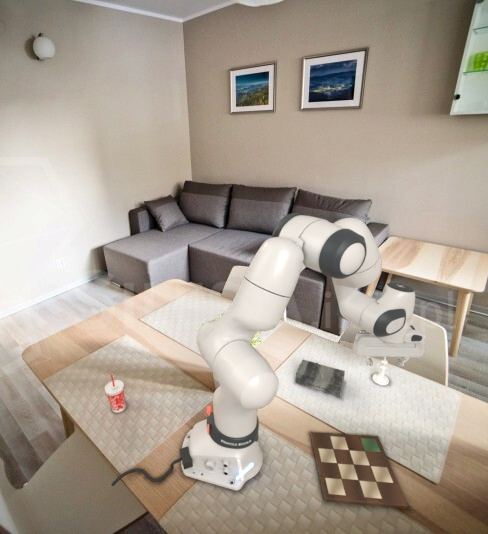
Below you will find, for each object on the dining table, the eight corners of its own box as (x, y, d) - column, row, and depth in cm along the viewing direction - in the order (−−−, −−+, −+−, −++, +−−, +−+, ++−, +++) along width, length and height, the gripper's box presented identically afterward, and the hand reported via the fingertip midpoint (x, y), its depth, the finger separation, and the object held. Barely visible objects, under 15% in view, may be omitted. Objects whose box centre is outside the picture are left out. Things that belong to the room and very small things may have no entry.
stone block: (302, 367, 119) (303, 355, 116) (345, 380, 111) (346, 368, 109) (295, 383, 112) (295, 371, 110) (340, 398, 105) (342, 386, 102)
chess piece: (388, 376, 111) (393, 353, 107) (389, 386, 107) (394, 363, 103) (371, 373, 113) (376, 350, 109) (372, 383, 109) (377, 359, 105)
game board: (324, 501, 78) (325, 498, 77) (310, 434, 94) (310, 431, 93) (406, 509, 75) (407, 505, 74) (377, 438, 91) (378, 435, 91)
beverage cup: (106, 412, 107) (97, 379, 101) (116, 398, 112) (108, 366, 106) (122, 416, 105) (114, 383, 99) (131, 401, 110) (124, 369, 104)
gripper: (359, 336, 101) (353, 370, 107) (432, 337, 97) (422, 372, 103) (352, 324, 106) (348, 357, 112) (421, 324, 103) (412, 358, 109)
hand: (384, 364), depth 108 cm, fingers open, 8 cm apart
